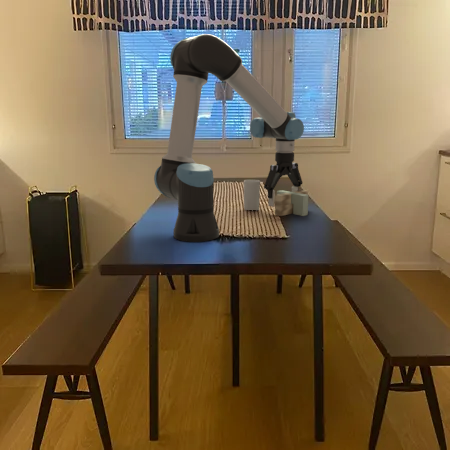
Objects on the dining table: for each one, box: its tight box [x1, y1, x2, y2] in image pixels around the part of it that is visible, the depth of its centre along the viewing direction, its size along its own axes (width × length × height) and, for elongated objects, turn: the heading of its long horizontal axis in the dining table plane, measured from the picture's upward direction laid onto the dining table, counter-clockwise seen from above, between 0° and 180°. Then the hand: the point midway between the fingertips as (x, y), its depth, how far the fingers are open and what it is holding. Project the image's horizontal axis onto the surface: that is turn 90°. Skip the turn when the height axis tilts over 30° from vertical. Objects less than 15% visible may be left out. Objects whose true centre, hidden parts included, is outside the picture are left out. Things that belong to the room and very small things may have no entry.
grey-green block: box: [276, 189, 309, 217], centre depth 186 cm, size 3×14×8 cm, turn 40°
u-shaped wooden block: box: [274, 189, 309, 217], centre depth 187 cm, size 16×3×8 cm, turn 130°
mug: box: [243, 179, 261, 212], centre depth 194 cm, size 10×7×12 cm, turn 172°
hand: (283, 204), depth 190 cm, fingers open, 13 cm apart
